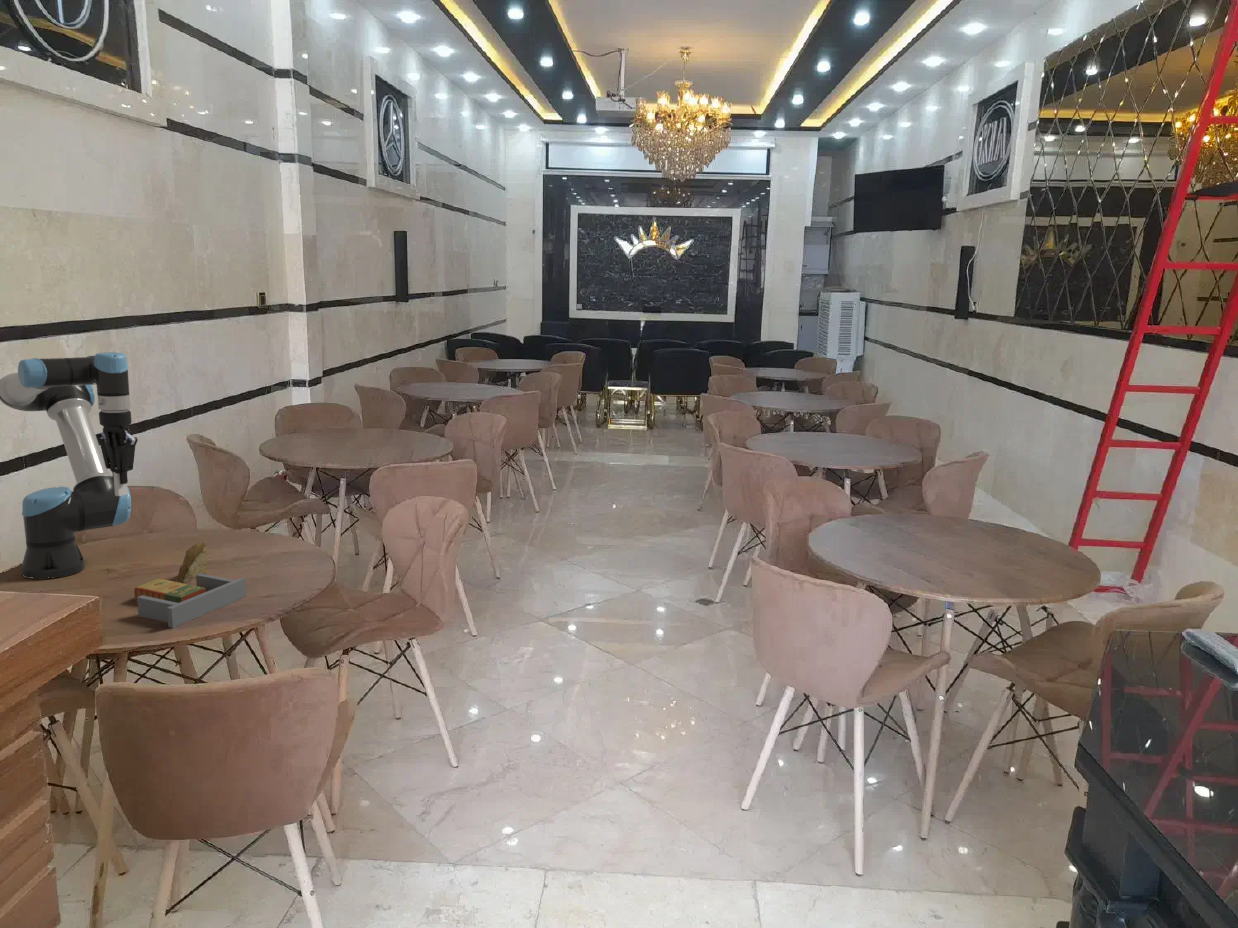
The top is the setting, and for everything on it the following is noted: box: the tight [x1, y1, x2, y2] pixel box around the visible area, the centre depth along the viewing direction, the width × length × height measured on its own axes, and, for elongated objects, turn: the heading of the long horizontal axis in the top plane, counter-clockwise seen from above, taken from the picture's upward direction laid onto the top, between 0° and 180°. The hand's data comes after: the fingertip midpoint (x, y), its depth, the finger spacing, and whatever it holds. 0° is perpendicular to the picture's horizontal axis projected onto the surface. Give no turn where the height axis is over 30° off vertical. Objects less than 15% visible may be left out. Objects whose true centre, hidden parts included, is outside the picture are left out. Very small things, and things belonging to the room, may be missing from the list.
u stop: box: [136, 573, 247, 629], centre depth 223 cm, size 14×24×5 cm, turn 160°
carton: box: [134, 578, 206, 603], centre depth 227 cm, size 8×16×4 cm, turn 71°
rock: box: [175, 542, 208, 584], centre depth 244 cm, size 11×9×10 cm
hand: (121, 494), depth 238 cm, fingers closed
